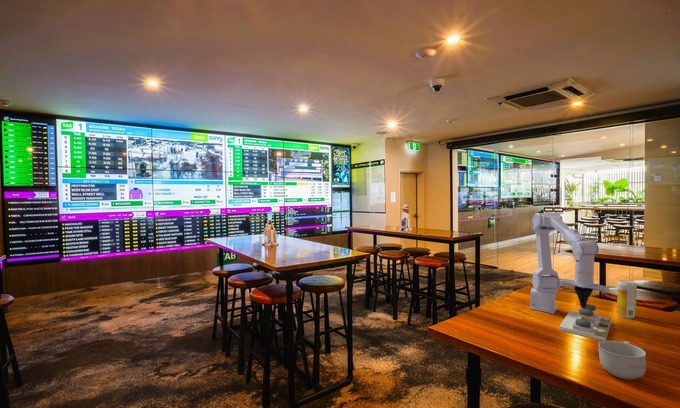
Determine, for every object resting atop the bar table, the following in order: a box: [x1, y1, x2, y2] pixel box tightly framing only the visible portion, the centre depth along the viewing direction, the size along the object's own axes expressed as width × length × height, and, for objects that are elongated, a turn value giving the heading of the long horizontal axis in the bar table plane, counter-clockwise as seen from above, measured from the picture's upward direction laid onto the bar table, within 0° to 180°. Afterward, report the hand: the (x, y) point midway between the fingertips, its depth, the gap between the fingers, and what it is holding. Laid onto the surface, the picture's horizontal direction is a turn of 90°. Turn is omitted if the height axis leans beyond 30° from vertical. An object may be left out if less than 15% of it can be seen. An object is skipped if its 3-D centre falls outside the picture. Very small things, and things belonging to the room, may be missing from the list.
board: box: [558, 310, 612, 342], centre depth 130 cm, size 14×22×3 cm, turn 136°
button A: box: [576, 319, 591, 327], centre depth 125 cm, size 5×5×3 cm
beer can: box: [616, 279, 638, 319], centre depth 139 cm, size 6×6×15 cm
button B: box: [578, 308, 594, 319], centre depth 130 cm, size 5×5×3 cm
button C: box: [582, 303, 597, 312], centre depth 135 cm, size 5×5×3 cm
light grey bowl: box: [597, 340, 647, 381], centre depth 98 cm, size 14×11×8 cm
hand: (583, 307), depth 124 cm, fingers closed
